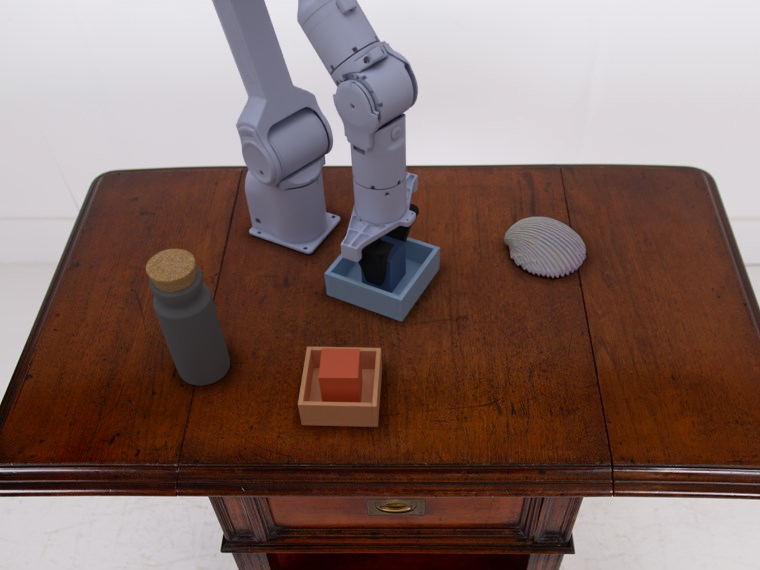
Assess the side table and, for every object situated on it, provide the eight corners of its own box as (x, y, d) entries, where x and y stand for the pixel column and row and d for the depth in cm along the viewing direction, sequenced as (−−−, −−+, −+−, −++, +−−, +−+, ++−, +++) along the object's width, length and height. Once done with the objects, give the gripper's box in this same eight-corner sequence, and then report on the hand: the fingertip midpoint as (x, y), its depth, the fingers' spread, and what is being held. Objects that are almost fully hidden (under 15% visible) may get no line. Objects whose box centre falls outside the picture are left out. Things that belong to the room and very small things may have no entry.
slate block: (361, 283, 92) (359, 252, 88) (377, 264, 94) (375, 231, 90) (391, 294, 90) (390, 262, 87) (406, 273, 93) (405, 241, 89)
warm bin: (301, 425, 79) (297, 404, 76) (310, 367, 84) (306, 346, 81) (378, 427, 79) (376, 406, 76) (382, 369, 84) (381, 347, 81)
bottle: (207, 394, 82) (172, 293, 70) (166, 372, 84) (126, 271, 72) (241, 359, 85) (213, 257, 73) (202, 339, 87) (168, 236, 75)
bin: (326, 295, 91) (324, 273, 88) (367, 245, 97) (366, 223, 94) (401, 322, 88) (401, 300, 85) (439, 269, 94) (440, 247, 91)
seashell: (506, 200, 97) (586, 194, 94) (511, 235, 101) (588, 230, 98) (496, 250, 91) (582, 246, 88) (502, 285, 95) (584, 282, 92)
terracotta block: (322, 408, 80) (318, 377, 76) (326, 379, 82) (321, 348, 78) (360, 408, 80) (357, 377, 76) (362, 379, 82) (360, 348, 78)
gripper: (380, 223, 75) (384, 319, 86) (442, 147, 83) (439, 244, 94) (319, 204, 77) (331, 300, 88) (385, 132, 85) (389, 228, 96)
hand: (383, 270), depth 91 cm, fingers closed on slate block, 4 cm apart
